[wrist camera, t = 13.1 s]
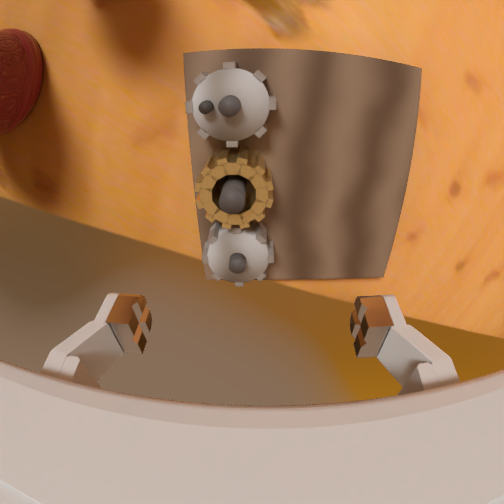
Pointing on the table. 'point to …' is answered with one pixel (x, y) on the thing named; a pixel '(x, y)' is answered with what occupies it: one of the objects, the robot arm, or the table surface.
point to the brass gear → (235, 165)
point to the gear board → (304, 158)
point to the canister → (18, 77)
